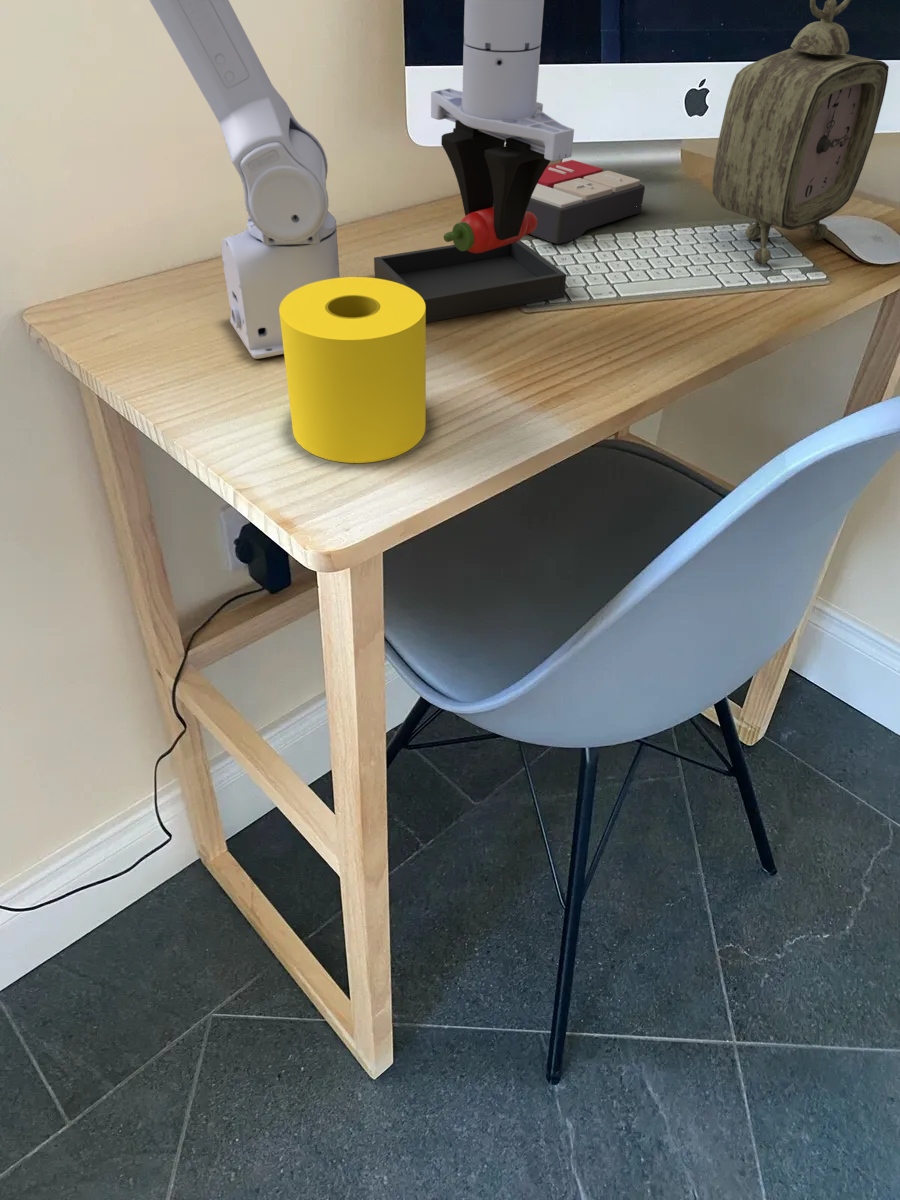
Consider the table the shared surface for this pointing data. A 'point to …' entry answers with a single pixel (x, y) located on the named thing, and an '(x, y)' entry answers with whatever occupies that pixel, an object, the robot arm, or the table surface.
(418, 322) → the yellow toilet paper roll
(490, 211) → the chili
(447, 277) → the tray
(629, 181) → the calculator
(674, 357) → the table surface
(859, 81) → the tabletop clock
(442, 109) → the robot arm
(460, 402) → the table surface
